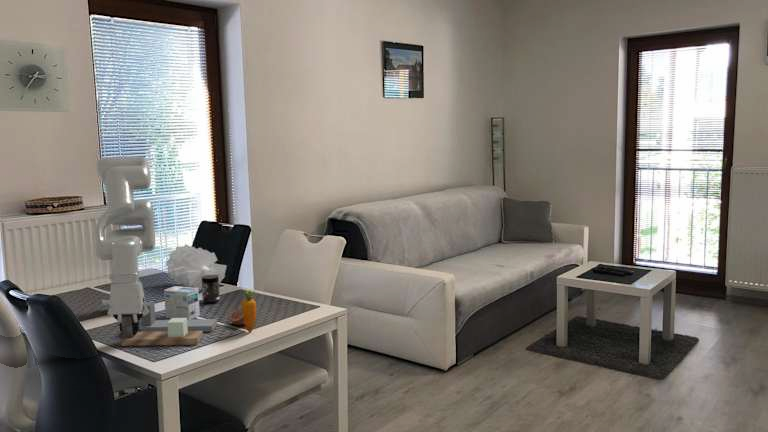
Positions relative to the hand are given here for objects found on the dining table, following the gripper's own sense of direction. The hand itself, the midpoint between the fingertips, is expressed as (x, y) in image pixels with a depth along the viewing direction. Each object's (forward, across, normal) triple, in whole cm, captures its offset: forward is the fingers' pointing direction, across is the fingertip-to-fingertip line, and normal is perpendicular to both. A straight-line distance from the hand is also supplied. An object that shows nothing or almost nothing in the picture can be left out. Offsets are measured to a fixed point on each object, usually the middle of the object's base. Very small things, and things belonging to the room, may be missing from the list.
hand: (129, 332), depth 213 cm
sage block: (+1, +16, 0) cm, 16 cm away
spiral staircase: (+4, +4, +73) cm, 73 cm away
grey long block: (+3, +12, +13) cm, 18 cm away
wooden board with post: (+3, +10, 0) cm, 11 cm away
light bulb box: (+4, +10, +28) cm, 30 cm away
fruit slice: (+4, +33, +17) cm, 37 cm away
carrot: (+3, +38, +8) cm, 38 cm away
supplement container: (+3, +16, +48) cm, 51 cm away
